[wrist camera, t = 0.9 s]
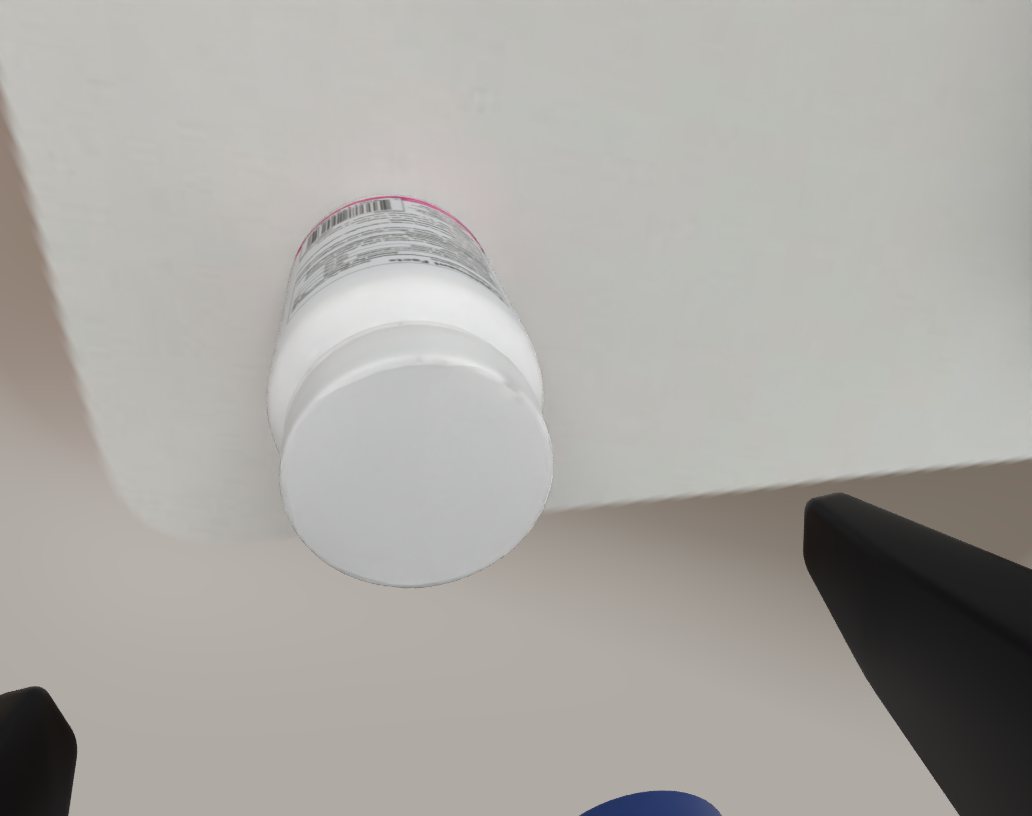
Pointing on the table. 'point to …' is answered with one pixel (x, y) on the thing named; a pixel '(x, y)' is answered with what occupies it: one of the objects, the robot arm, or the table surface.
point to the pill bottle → (405, 399)
